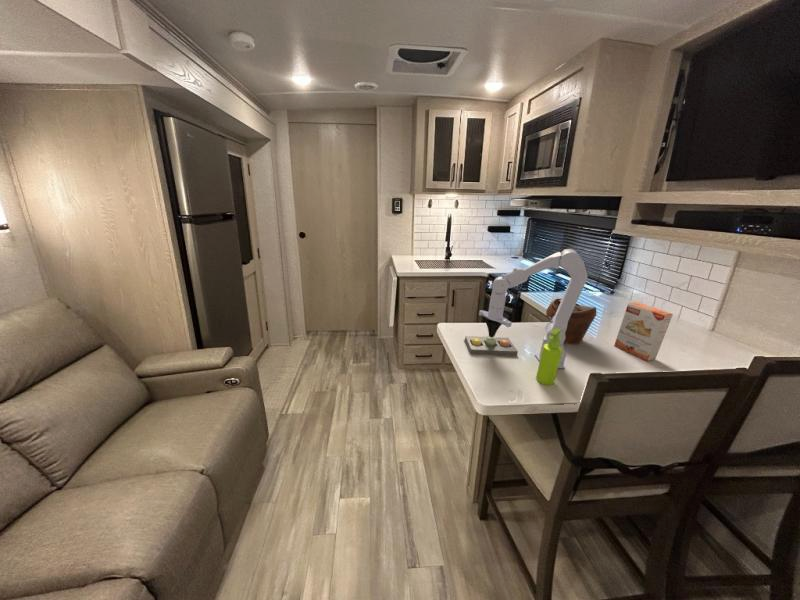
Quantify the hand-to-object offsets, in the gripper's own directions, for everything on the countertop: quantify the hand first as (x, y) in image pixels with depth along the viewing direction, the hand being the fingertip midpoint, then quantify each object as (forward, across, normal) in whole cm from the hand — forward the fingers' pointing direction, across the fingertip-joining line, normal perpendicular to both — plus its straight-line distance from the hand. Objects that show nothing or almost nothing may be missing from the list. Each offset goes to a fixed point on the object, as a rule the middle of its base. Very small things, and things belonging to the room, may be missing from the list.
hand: (491, 336), depth 127 cm
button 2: (+5, -4, -5) cm, 8 cm away
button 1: (+5, +4, +5) cm, 8 cm away
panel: (+5, 0, 0) cm, 5 cm away
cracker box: (+5, -37, -51) cm, 63 cm away
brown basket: (+5, -13, -39) cm, 41 cm away
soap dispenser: (+5, -26, +3) cm, 27 cm away
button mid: (+4, 0, 0) cm, 4 cm away
